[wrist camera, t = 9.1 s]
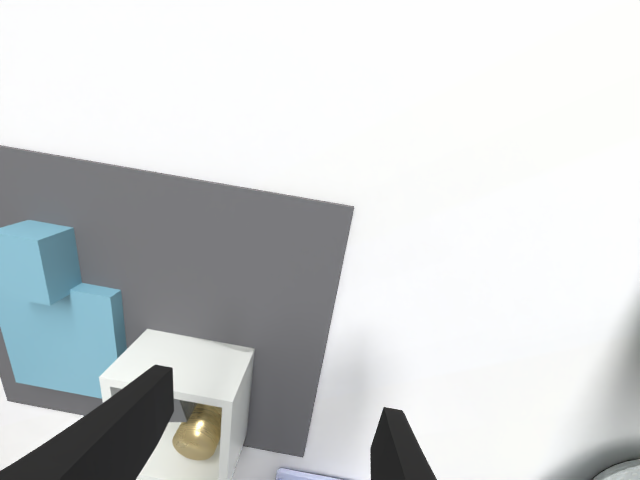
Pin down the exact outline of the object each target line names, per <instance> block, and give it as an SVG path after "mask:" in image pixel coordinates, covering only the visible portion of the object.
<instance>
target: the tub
mask: <svg viewBox="0 0 640 480" xmlns="http://www.w3.org/2000/svg"><path fill="white" fill-rule="evenodd" d="M254 351H255V349H254V348H249V347H243V346H238V345H232V344H227V343H222V342H216V341H211V340H205V339H200V338H194V337H189V336H184V335H178V334H173V333H167V332H162V331H156V330H151V329H147V330H146V331H145V332H144V333H143V334H142V335H141V336H140V337H139V338H138V339H137V340H136V341H135V342H134V343H133V344H132V345H131V346H130V347H129V348H128V349H127V350H126V351H125V352H124V353H123V354H122V355H121V356H120V357H119V358H118V359H117V360H116V361H115V362H114V363H113V364H112V365H111V366H110V367H109V368H108V369H107V370H106V371H105V372H104V373H103V374H102V375H101V376H100V377H99V381H100V387H101V394H102V401H103V402H105V401H106V400H108V399H109V398H110V397H112V396H113V395H114V394H116V393H117V392H119V391H120V390H121V389H123V388H124V387H125V386H127V385H128V384H129V383H131V382H132V381H133V380H135V379H136V378H137V377H139V376H140V375H141V374H143V373H144V372H145V371H147V370H148V369H149V368H151V367H152V366H154V365H155V364H156V365H161V366H166V367H172V368H173V393H174V399H179V400H184V401H189V402H195V403H200V404H205V405H210V406H216V407H221V408H222V418H221V437H220V440H219V442H218V445H217V447H216V450H215V452H214V454H213V456H212V457H210V458H209V459H206V460H192V459H189V458H186V457H184V456H182V455H181V454H180V453H178V452H177V451H176V449H175V448H174V446H173V443H172V439H173V437H174V435H175V433H176V431H177V429H178V428H179V426H180V424H181V422H169V423H168V425H167V427H166V429H165V431H164V433H163V435H162V437H161V439H160V441H159V443H158V445H157V446H156V448H155V450H154V451H153V453H152V455H151V456H150V458H149V459H148V461H147V463H146V464H145V466H144V467H143V469H142V471H141V472H140V474H139V475H138V477H137V479H136V480H232V477H233V474H234V471H235V468H236V465H237V462H238V459H239V456H240V453H241V450H242V447H243V444H244V440H245V437H246V434H247V424H248V414H249V403H250V393H251V383H252V372H253V362H254Z"/></svg>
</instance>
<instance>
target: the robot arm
mask: <svg viewBox="0 0 640 480" xmlns="http://www.w3.org/2000/svg"><path fill="white" fill-rule="evenodd" d="M173 412H174V393H173V368H172V367H166V366H161V365H156V364H155V365H154V366H152V367H151V368H149V369H148V370H147V371H145V372H144V373H143V374H141V375H140V376H139V377H137V378H136V379H135V380H133V381H132V382H131V383H129V384H128V385H127V386H125V387H124V388H123V389H121V390H120V391H119V392H117V393H116V394H114V395H113V396H112V397H110V398H109V399H108V400H106V401H105V402H103V403H102V404H101V405H99V406H98V407H97V408H95V409H94V410H92V411H91V412H90V413H88V414H87V415H85V416H84V417H83V418H81V419H80V420H78V421H77V422H75V423H74V424H72V425H71V426H70V427H68V428H67V429H65V430H64V431H62V432H61V433H59V434H58V435H56V436H55V437H53V438H52V439H50V440H49V441H47V442H46V443H44V444H43V445H41V446H40V447H38V448H37V449H35V450H33V451H32V452H30V453H29V454H27V455H26V456H24V457H22V458H21V459H19V460H18V461H16V462H14V463H13V464H11V465H10V466H8V467H6V468H5V469H3V470H1V471H0V480H136V479H137V477H138V475H139V474H140V472H141V471H142V469H143V467H144V466H145V464H146V463H147V461H148V459H149V458H150V456H151V455H152V453H153V451H154V450H155V448H156V446H157V445H158V443H159V441H160V439H161V437H162V435H163V433H164V431H165V429H166V427H167V425H168V423H169V421H170V419H171V417H172V415H173ZM276 480H341V479H336V478H331V477H326V476H321V475H315V474H310V473H305V472H300V471H295V470H289V469H284V468H280V469H278V470H277V474H276ZM371 480H437V479H436V477H435V475H434V473H433V472H432V470H431V468H430V466H429V464H428V462H427V460H426V458H425V456H424V454H423V452H422V450H421V448H420V446H419V444H418V442H417V440H416V438H415V436H414V433H413V431H412V429H411V427H410V425H409V423H408V421H407V418H406V416H405V414H404V413H403V411H402V410H397V409H392V408H386V407H384V408H383V411H382V414H381V417H380V421H379V424H378V427H377V430H376V433H375V436H374V439H373V442H372V445H371Z"/></svg>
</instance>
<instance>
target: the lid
mask: <svg viewBox="0 0 640 480" xmlns="http://www.w3.org/2000/svg"><path fill="white" fill-rule="evenodd" d="M0 327H1V331H2V334H3V338H4V342H5V345H6V349H7V352H8V356H9V359H10V363H11V366H12V370H13V373H14V377H15V380H16V382H17V383H22V384H27V385H32V386H38V387H43V388H48V389H54V390H59V391H64V392H69V393H75V394H80V395H85V396H90V397H96V398H101V399H102V394H101V387H100V381H99V377H100V376H101V375H102V374H103V373H104V372H105V371H106V370H107V369H108V368H109V367H110V366H111V365H112V364H113V363H114V362H115V361H116V360H117V359H118V358H119V357H120V356H121V355H122V354H123V353H124V352H125V351H126V350H127V345H126V335H125V325H124V315H123V305H122V295H121V290H119V289H113V288H108V287H102V286H97V285H91V284H86V283H82V279H81V273H80V266H79V260H78V253H77V246H76V240H75V233H74V228H73V227H67V226H61V225H56V224H50V223H44V222H39V221H33V220H26V221H23V222H19V223H16V224H12V225H8V226H5V227H1V228H0Z"/></svg>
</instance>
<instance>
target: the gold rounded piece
mask: <svg viewBox="0 0 640 480" xmlns="http://www.w3.org/2000/svg"><path fill="white" fill-rule="evenodd" d="M221 418H222V408H221V407H216V406H210V405H205V404H200V403H197V405H196V407H195V409H194V410H193V412H192V414H191V416H190V418H189V420H188V421H187V422H181V424H180V426H179V428H178V429H177V431H176V433H175V435H174V437H173V439H172V443H173V446H174V448H175V449H176V451H177V452H178V453H180V454H181V455H182V456H184V457H186V458H189V459H192V460H206V459H209V458H210V457H212V456H213V454H214V452H215V450H216V447H217V445H218V442H219V440H220V437H221Z"/></svg>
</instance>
